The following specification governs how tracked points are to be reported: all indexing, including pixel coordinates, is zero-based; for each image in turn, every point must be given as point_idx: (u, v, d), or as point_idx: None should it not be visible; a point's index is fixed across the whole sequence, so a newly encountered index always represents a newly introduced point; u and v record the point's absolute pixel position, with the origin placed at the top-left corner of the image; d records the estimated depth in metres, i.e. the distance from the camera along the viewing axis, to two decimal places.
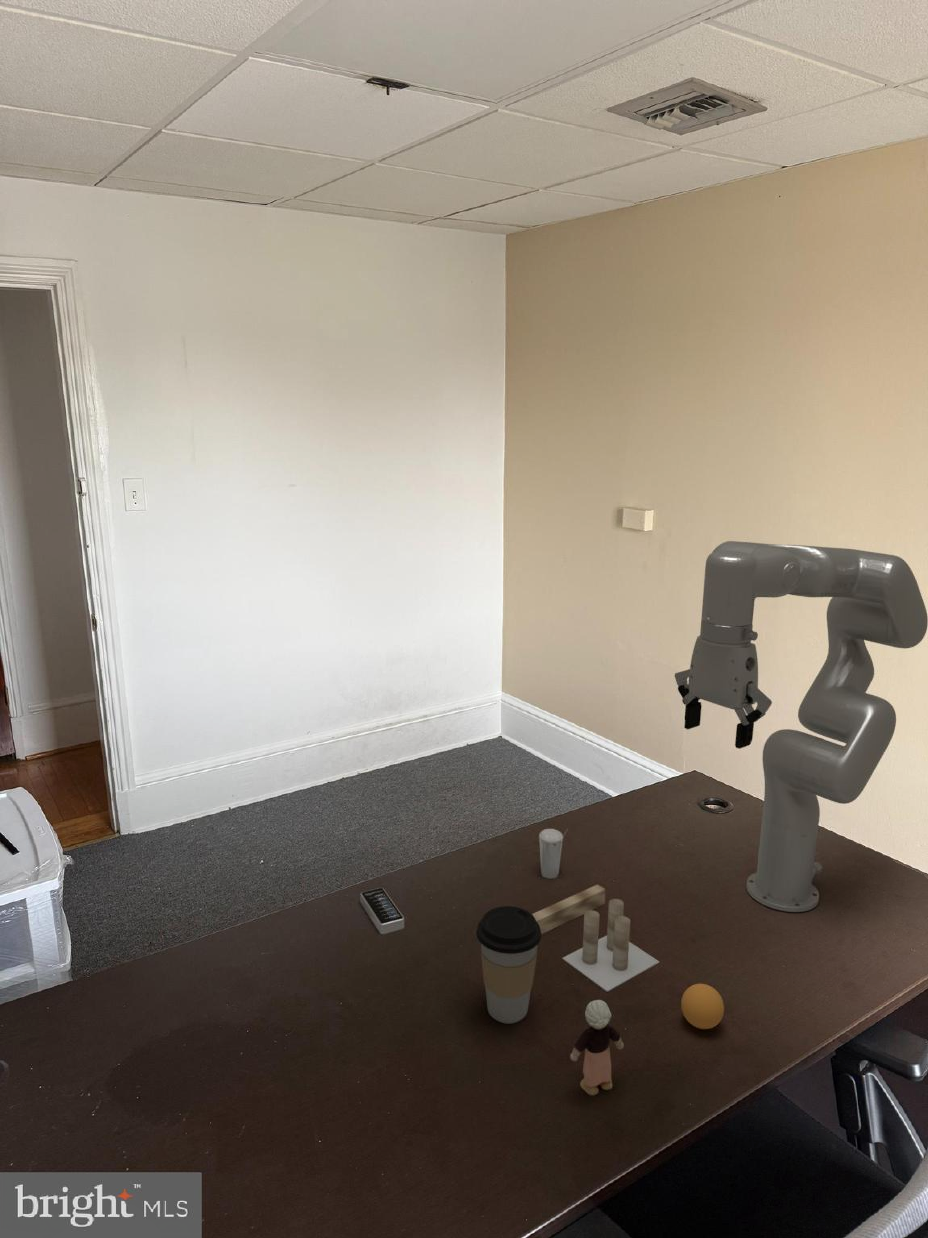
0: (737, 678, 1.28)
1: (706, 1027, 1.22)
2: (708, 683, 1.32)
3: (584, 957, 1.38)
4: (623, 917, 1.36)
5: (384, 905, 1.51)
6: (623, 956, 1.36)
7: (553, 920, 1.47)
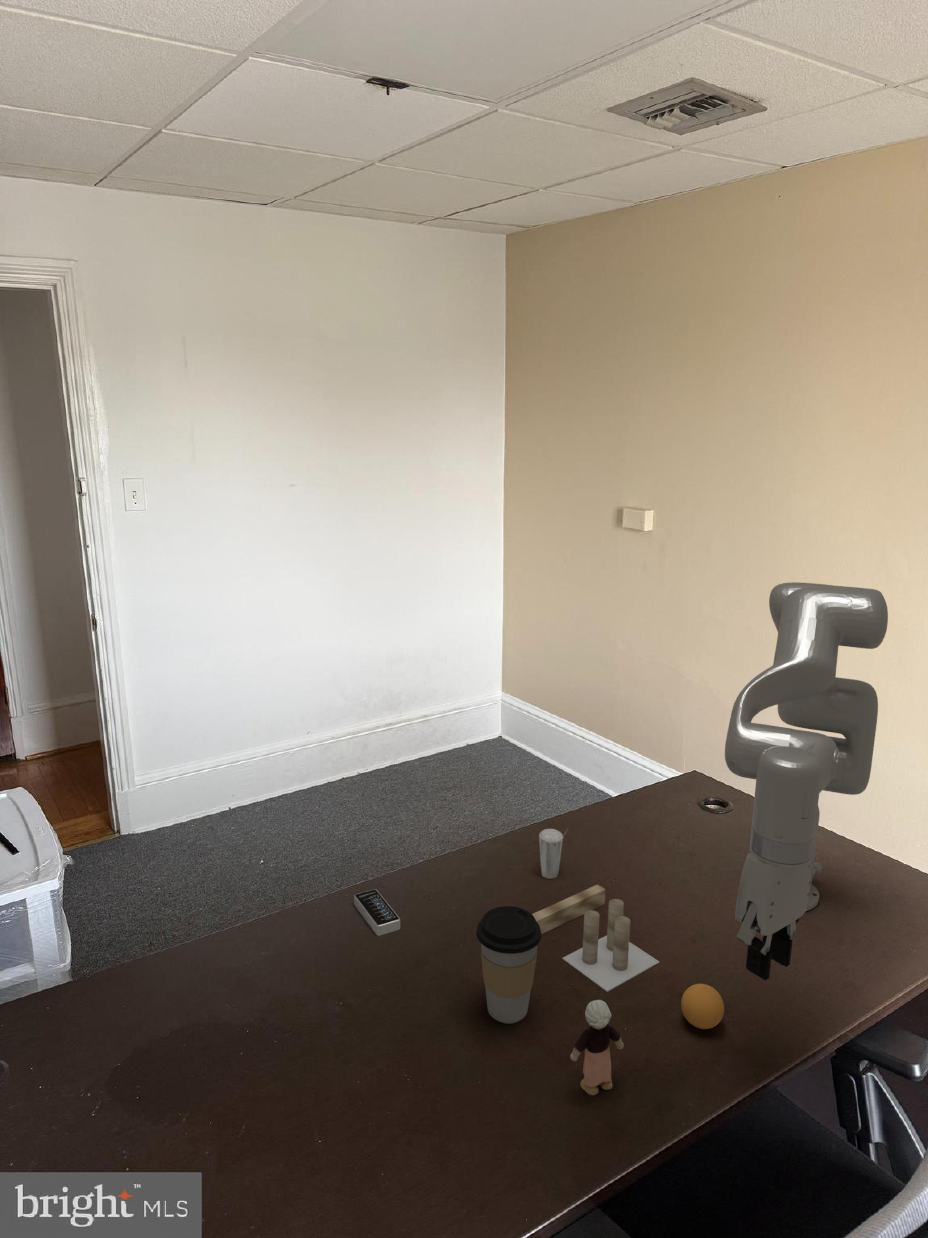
0: (809, 881, 1.12)
1: (706, 1027, 1.22)
2: (788, 908, 1.09)
3: (584, 957, 1.38)
4: (623, 917, 1.36)
5: (379, 906, 1.50)
6: (623, 956, 1.36)
7: (553, 920, 1.47)
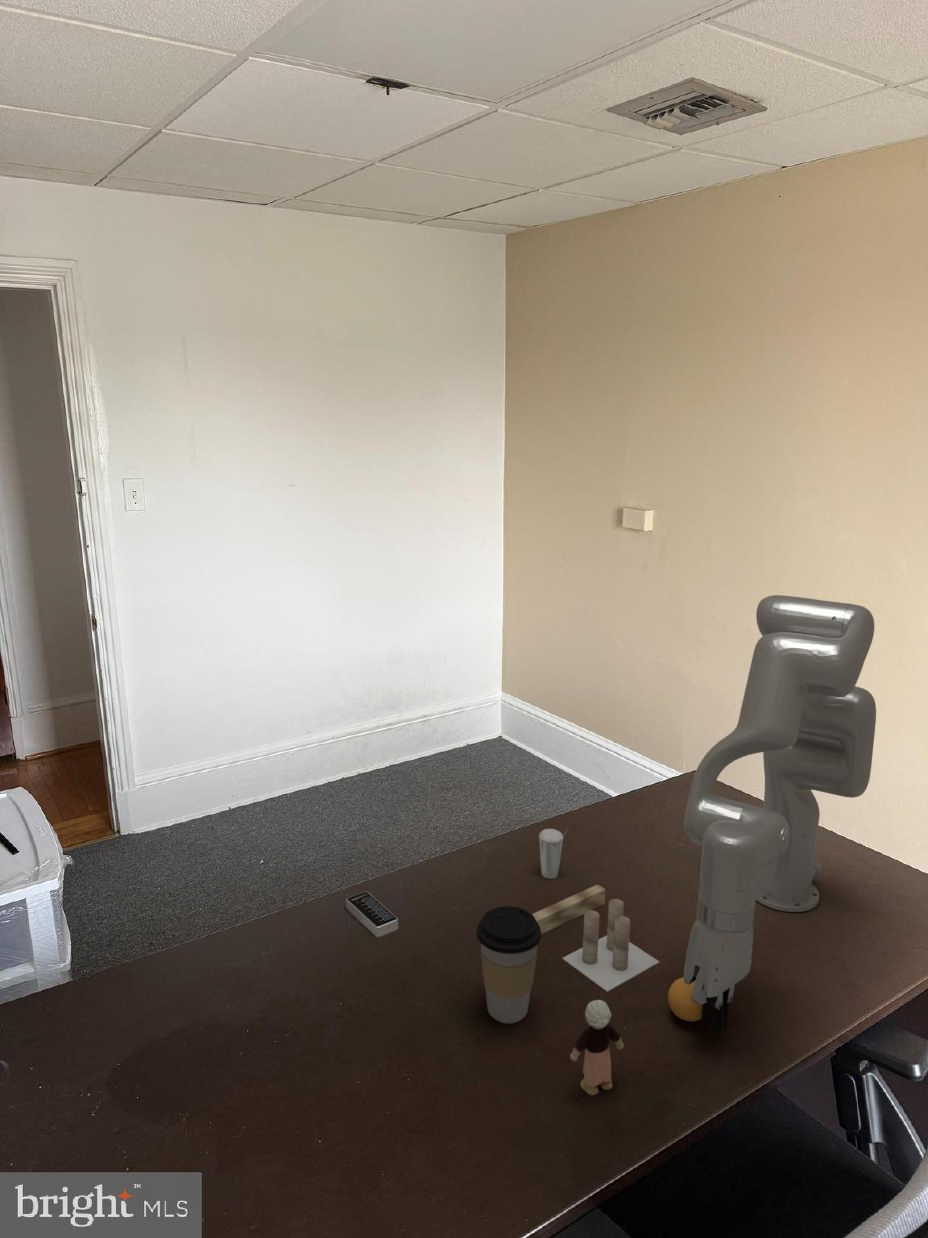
0: (751, 944, 1.21)
1: (696, 1014, 1.23)
2: (732, 971, 1.18)
3: (584, 957, 1.38)
4: (623, 917, 1.36)
5: (374, 908, 1.50)
6: (623, 956, 1.36)
7: (553, 920, 1.47)
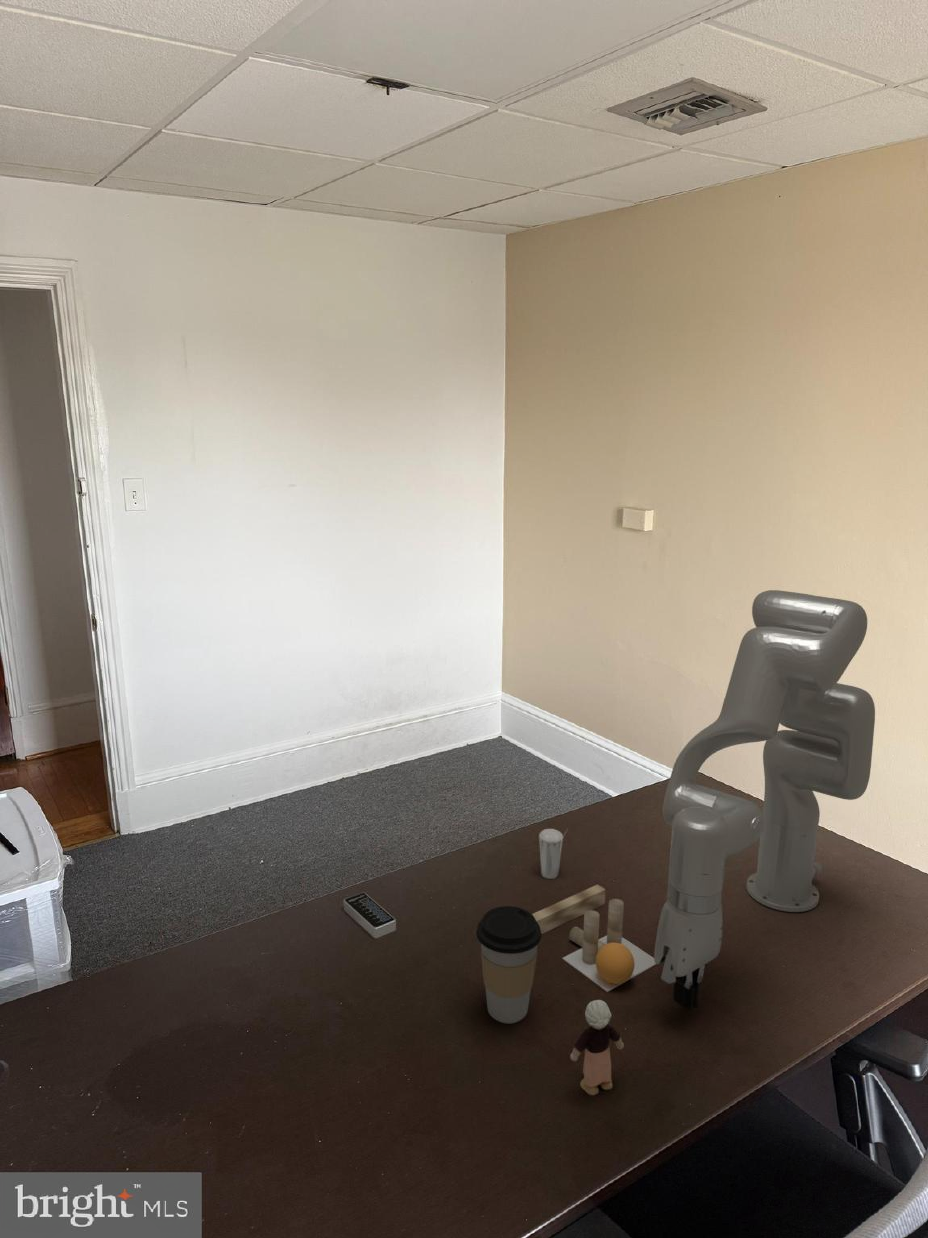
0: (721, 927, 1.25)
1: None
2: (700, 952, 1.22)
3: (584, 957, 1.38)
4: None
5: (371, 909, 1.49)
6: None
7: (553, 920, 1.47)
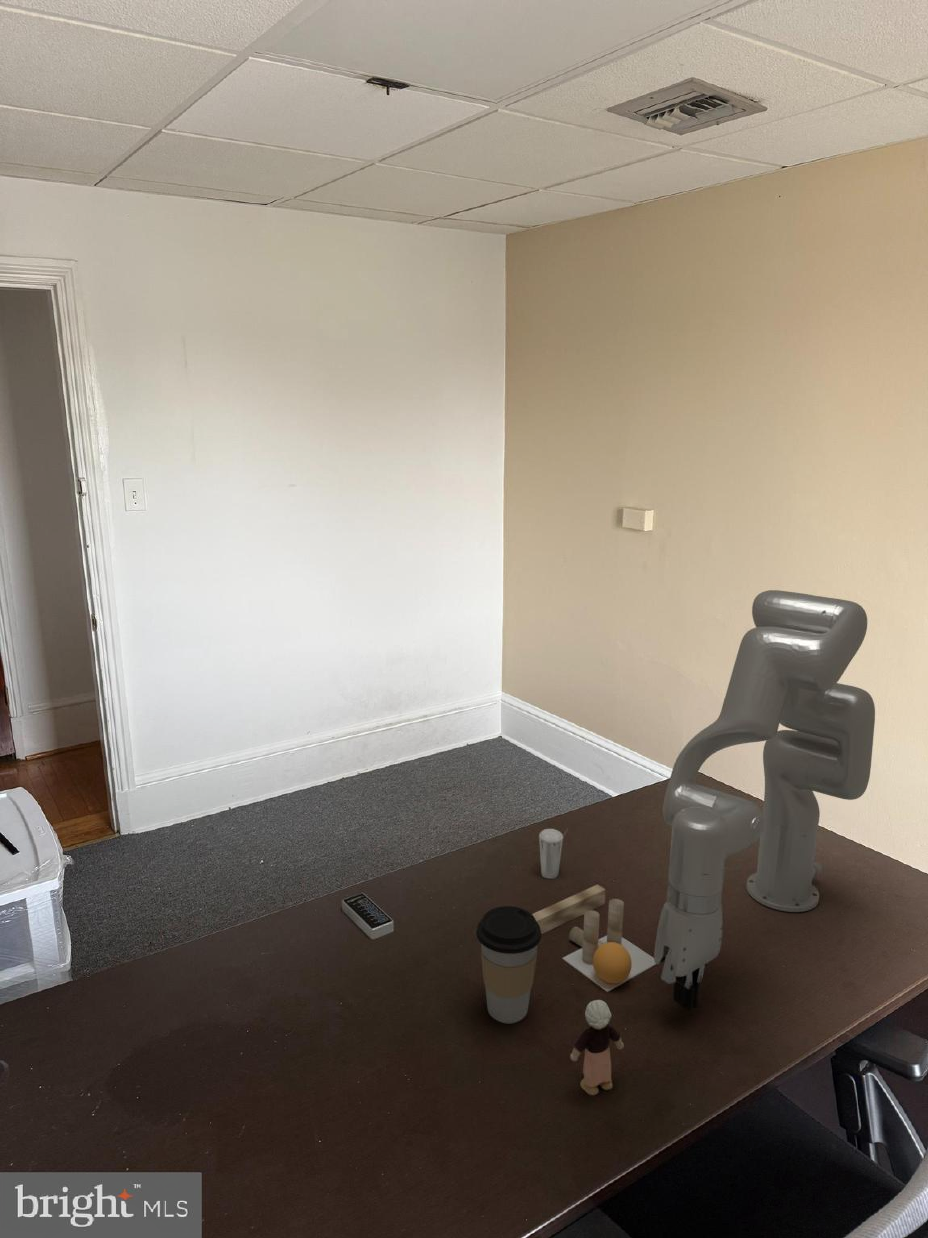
0: (721, 927, 1.25)
1: None
2: (700, 952, 1.22)
3: (584, 957, 1.38)
4: None
5: (370, 910, 1.49)
6: None
7: (553, 920, 1.47)
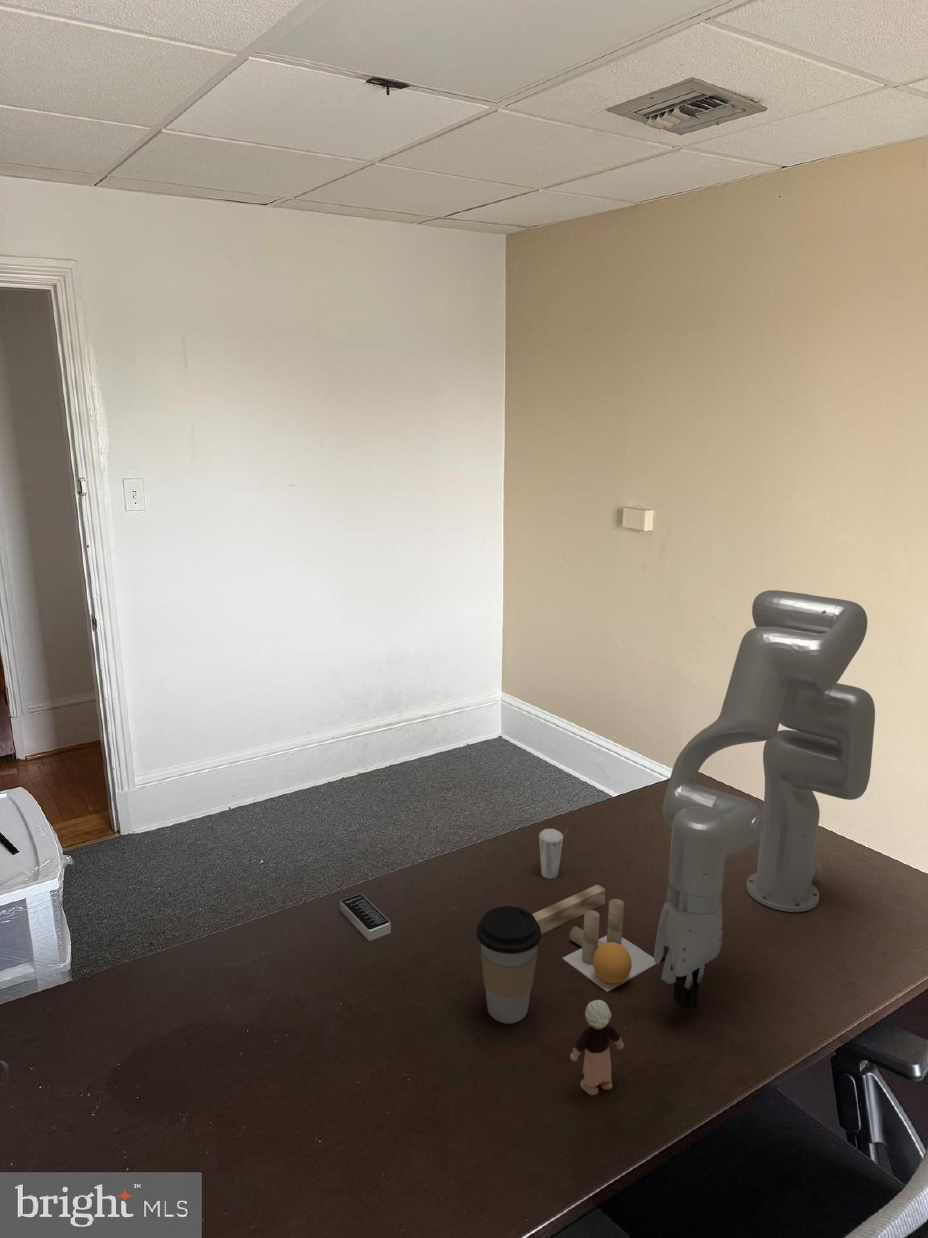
0: (721, 927, 1.25)
1: None
2: (700, 952, 1.22)
3: (584, 957, 1.38)
4: None
5: (367, 911, 1.49)
6: None
7: (553, 920, 1.47)
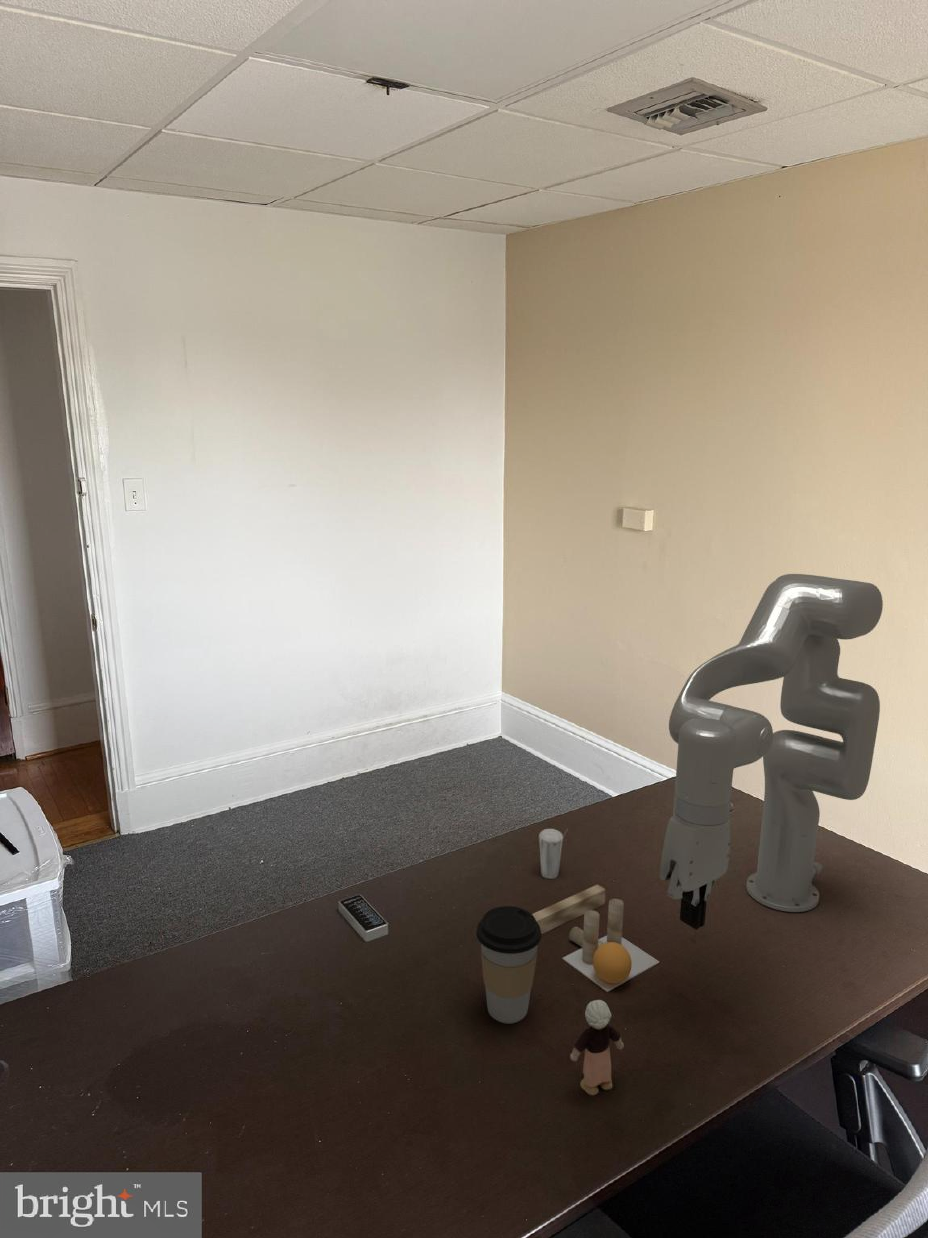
0: (729, 842, 1.21)
1: None
2: (708, 867, 1.19)
3: (584, 957, 1.38)
4: None
5: (365, 912, 1.49)
6: None
7: (553, 920, 1.47)
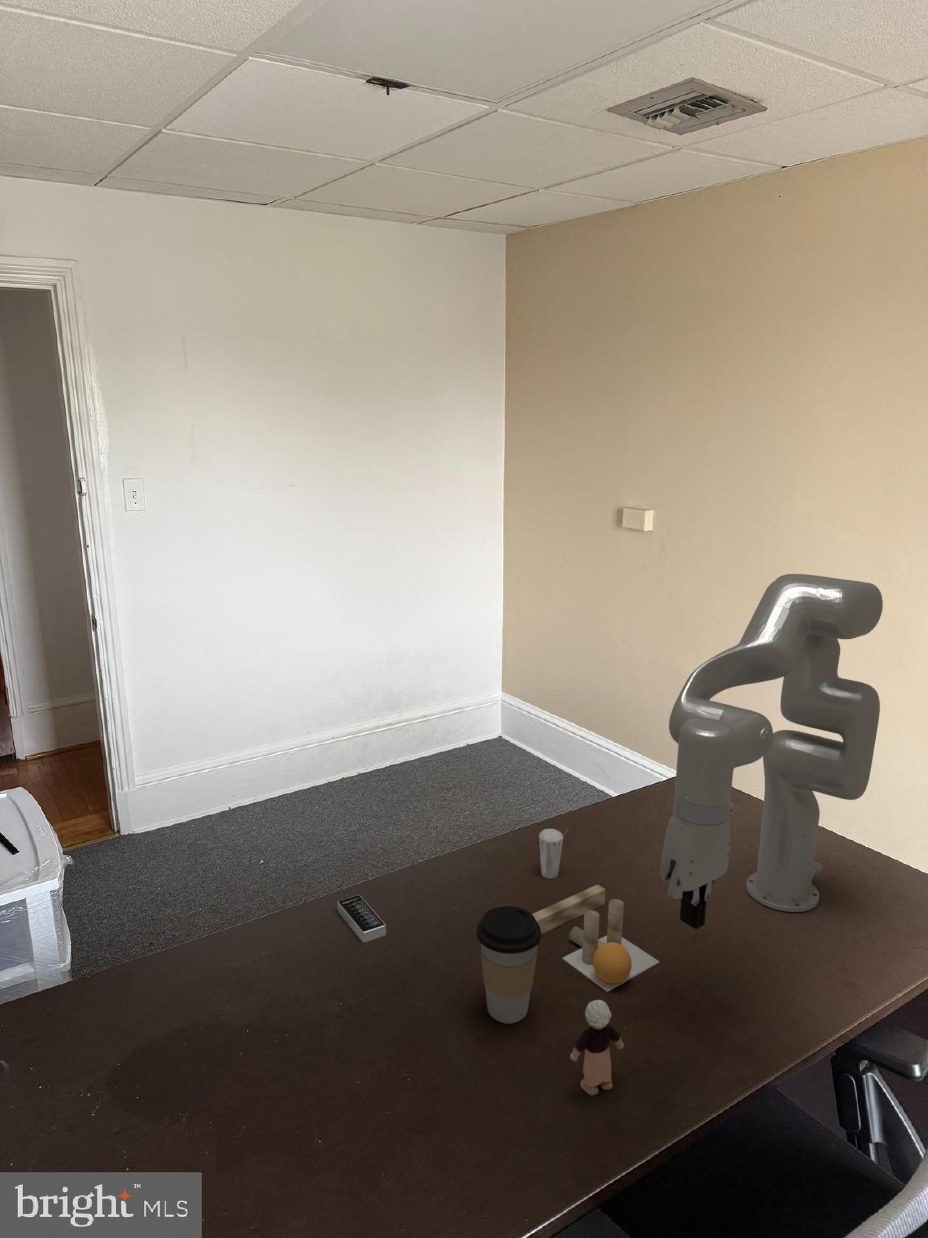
0: (729, 842, 1.21)
1: None
2: (708, 867, 1.19)
3: (584, 957, 1.38)
4: None
5: (363, 913, 1.48)
6: None
7: (553, 920, 1.47)
